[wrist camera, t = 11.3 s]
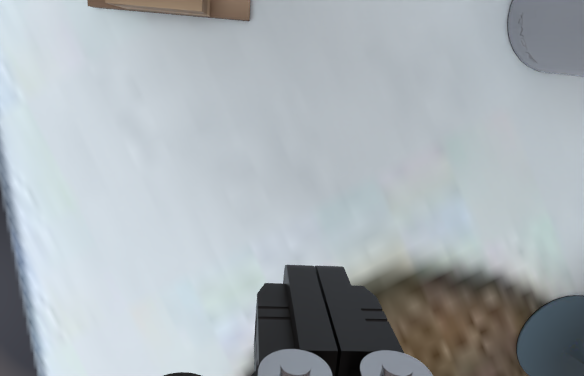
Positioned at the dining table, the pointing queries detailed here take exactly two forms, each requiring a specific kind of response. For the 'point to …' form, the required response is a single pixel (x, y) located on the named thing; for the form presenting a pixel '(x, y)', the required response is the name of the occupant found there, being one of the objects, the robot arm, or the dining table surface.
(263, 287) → the robot arm
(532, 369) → the cocktail glass
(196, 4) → the wooden slider rail stand
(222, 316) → the dining table surface
